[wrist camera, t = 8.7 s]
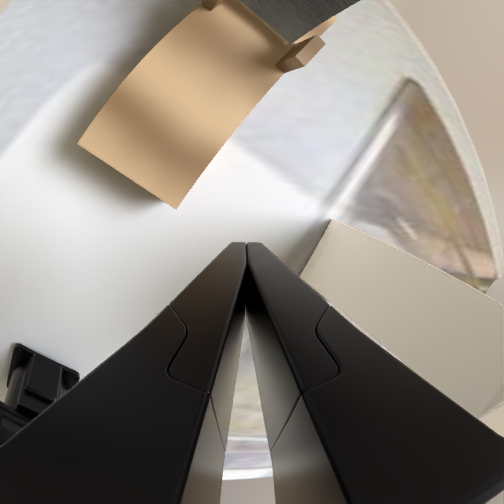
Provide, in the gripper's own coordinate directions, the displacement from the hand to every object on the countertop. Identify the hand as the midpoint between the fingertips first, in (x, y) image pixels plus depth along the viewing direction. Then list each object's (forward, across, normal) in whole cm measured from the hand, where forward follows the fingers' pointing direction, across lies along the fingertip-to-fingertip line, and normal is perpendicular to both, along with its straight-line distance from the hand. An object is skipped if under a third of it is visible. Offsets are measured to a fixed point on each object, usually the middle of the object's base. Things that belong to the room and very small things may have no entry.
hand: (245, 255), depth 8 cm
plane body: (+14, -2, +4) cm, 15 cm away
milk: (+14, +9, -12) cm, 20 cm away
